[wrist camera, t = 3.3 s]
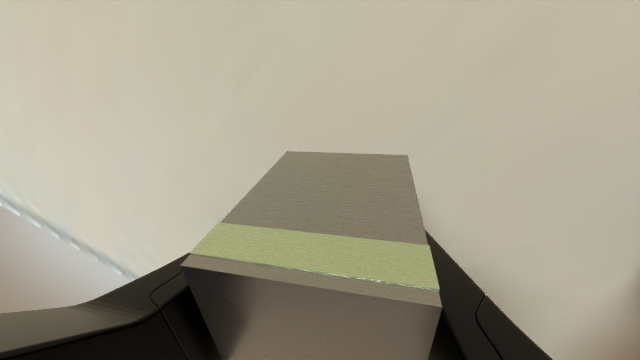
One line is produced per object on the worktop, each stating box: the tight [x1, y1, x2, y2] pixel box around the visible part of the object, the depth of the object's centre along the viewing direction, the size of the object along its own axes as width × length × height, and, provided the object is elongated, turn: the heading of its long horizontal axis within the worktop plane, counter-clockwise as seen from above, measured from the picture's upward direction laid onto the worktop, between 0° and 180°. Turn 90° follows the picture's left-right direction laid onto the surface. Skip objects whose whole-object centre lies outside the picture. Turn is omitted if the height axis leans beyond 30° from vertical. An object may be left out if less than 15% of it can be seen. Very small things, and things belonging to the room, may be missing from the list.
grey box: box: [180, 151, 442, 360], centre depth 8 cm, size 5×5×6 cm
